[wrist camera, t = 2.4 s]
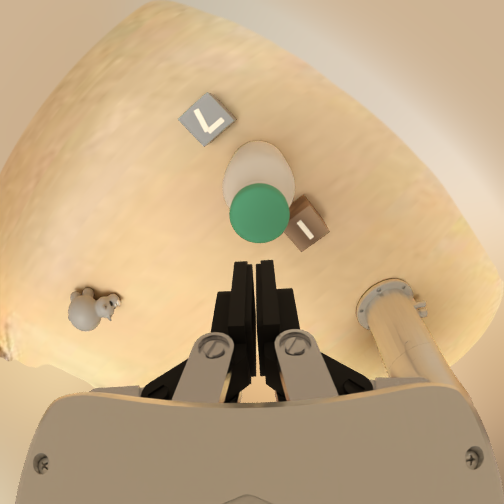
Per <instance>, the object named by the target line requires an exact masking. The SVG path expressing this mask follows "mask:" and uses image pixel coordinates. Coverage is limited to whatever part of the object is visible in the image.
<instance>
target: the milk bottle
mask: <svg viewBox="0 0 504 504" xmlns="http://www.w3.org/2000/svg"><path fill="white" fill-rule="evenodd" d="M294 194H295V181H294V176H293V173H292V171H291V168H290V166H289V165H288V163H287V161H286V159H285V158H284V156H283V155H282V153H281V152H280V151H279V150H278V149H277V148H276V147H275V146H274V145H272V144H270V143H268V142H264V141H252V142H248V143H246V144H244V145H242V146H241V147H240V148H239V149H238V150H237V151H236V152H235V154H234V155H233V157H232V159H231V161H230V163H229V165H228V167H227V169H226V171H225V175H224V178H223V196H224V199H225V202H226V204H227V206H228V207H229V209H230V213H229V215H230V222H231V225H232V227H233V229H234V230H235V232H236V233H237V234H238V235H239V236H240V237H242V238H243V239H245V240H247V241H250V242H254V243H266V242H269V241H272V240H274V239H276V238H277V237H279V236H280V235H281V234H282V233H283V232H284V230H285V229H286V227H287V225H288V222H289V218H290V211H289V207H290V205H291V203H292V201H293V198H294Z"/></svg>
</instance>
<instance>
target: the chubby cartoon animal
mask: <svg viewBox="0 0 504 504" xmlns="http://www.w3.org/2000/svg"><path fill="white" fill-rule="evenodd" d="M93 297H94V292H93V290H92V289H90V288H85V289H84V290H83V293H82V296H81V294H80V293H79V292H73V293H72V294H71V297H70V299H71V303H70V306H69V310H68V314H69V316H68V319H69V320H70V321H71V323H72V324H73V326H74V327H76V328H77V329H79V330H81V331H91V330H93V329H95V328H96V327H97V326H98V325H99V323H100V321H101V317H104V318H108V319H109V320H110V321H111V316H112V315H113V313H114V309H115V308H116V307H117V306H118V305H119V306H120V305H121V302H120V299H119V297H118V296H117V295H116V294H110V295H109V296H107V297H100V298H99V299H98V300H97V301H96V300H95V299H93Z"/></svg>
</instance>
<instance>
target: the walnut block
mask: <svg viewBox="0 0 504 504" xmlns="http://www.w3.org/2000/svg"><path fill="white" fill-rule="evenodd" d="M289 211H290V218H289V222H288V225H287V227H286V229H285V230H284V233H285V234H286V235H287V236H288V237H289V238H290V240H291V241H292V242H293V243H294V244H295V245H296V247H297V248H298V249H299V250H300V251H301V252H302V251H304V250H305V249H307V248H308V247H309V246H311V245H312V244H314V243H315V242H316V241H318V240H319V239H321V238H322V237H323V236H325V235H326V234H328V233H329V232H330V231H329V230H328V228H327V226H326V224H325V222H324V221H323V219H322V218H321V216H320V215H319V214H318V212H317V211H316V210H315V208H314V207H313V206H312V205H311V203H310V202H309V201H308V199H307V198H306V197H305V196H304V195H302V196H301V197H300V198H298V199H297V200H296V201H294V202H293V203H292V204H291V205H290V207H289Z"/></svg>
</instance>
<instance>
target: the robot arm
mask: <svg viewBox="0 0 504 504" xmlns="http://www.w3.org/2000/svg"><path fill="white" fill-rule="evenodd" d="M425 306H426V302H425V301H419V302H416V301H415V300H414V299H413V291H412V289H411V288H410V286H409V285H408V284H407V283H406V282H405V281H403V280H400V279H389V280H385V281H382V282H380V283H378V284H376V285H374V286H373V287H371V288H370V289H369V290H368V291H367V292H366V293H365V294H364V295H363V296H362V298H361V299H360V301H359V303H358V305H357V309H356V315H357V319H358V321H359V323H360V325H361V326H363V327H364V328H366V329H368V330H371V332H372V335H373V337H374V340H375V342H376V344H377V347H378V349H379V352H380V354H381V357H382V360H383V362H384V365H385V367H386V370H387V373H388V375H389V378H375V380H369V379H368V378H366V377H365V376H364V375H362V374H360V373H358V372H356V371H354V370H352V369H351V368H349V367H347V366H345V365H343V364H341V363H339V362H338V361H336V360H334V359H332V358H330V357H329V356H327V355H325V354H323V353H321V352H320V350H319V348H318V345H317V343H316V341H315V339H314V337H313V336H312V335H311V334H310V333H308V332H306V331H304V330H300V327H299V321H298V315H297V310H296V304H295V299H294V294H293V289H292V288H288V289H276V282H275V273H274V264H273V260H263V261H261V264H256V311H255V297H254V283H253V269H252V264H248V265H247V261H243V262H235V263H234V271H233V280H232V289H231V291H224V292H218V293H217V298H216V304H215V310H214V316H213V322H212V328H211V333H208V334H205V335H203V336H201V337H200V338H199V339H197V341H196V342H195V344H194V346H193V348H192V351H191V353H190V356H189V358H188V359H187V360H185V361H184V362H182V363H180V364H179V365H177V366H176V367H174V368H172V369H171V370H169V371H168V372H166V373H164V374H163V375H161V376H160V377H158V378H156V379H155V380H153V381H152V382H150V383H149V384H147V385H146V386H145V387H144V388H140V387H139V385H138V386H126V387H110V388H96V389H93V390H91V391H90V392H79V393H73V394H68V395H65V396H62V397H59V398H57V399H56V400H54V401H53V402H52V403H51V404H50V406H49V407H48V408H47V410H46V412H45V413H44V415H43V417H42V419H41V421H40V423H39V425H38V427H37V429H36V432H35V434H34V437H33V439H32V442H31V444H30V447H29V450H28V454H27V457H26V460H25V463H24V467H23V470H22V474H21V478H20V482H19V486H18V491H17V496H16V502H15V504H504V494H503V489H502V483H501V478H500V474H499V470H498V466H497V462H496V459H495V456H494V452H493V449H492V446H491V443H490V440H489V437H488V435H487V432H486V430H485V427H484V425H483V423H482V420H481V418H480V416H479V414H478V412H477V410H476V408H475V407H474V405H473V402H472V400H471V397H470V396H469V394H468V392H467V391H466V390H465V388H464V387H463V386H462V384H461V383H460V382H459V380H458V379H457V378H456V377H455V375H454V373H453V372H452V370H451V369H450V367H449V365H448V364H447V362H446V360H445V359H444V357H443V355H442V353H441V352H440V350H439V348H438V346H437V344H436V343H435V341H434V339H433V337H432V336H431V334H430V332H429V331H428V329H427V327H426V326H425V324H424V322H423V321H422V319H421V318H423V317H426V316H427V309H426V308H422V309H418V310H416V309H417V308H421V307H425ZM256 312H257V337H258V351H259V364H260V376H266V384H267V385H268V386H270V387H271V388H272V389H274V390H275V397H276V401H277V402H268V403H267V402H266V403H240V402H241V397H242V390H243V389H244V388H245V387H247V386H248V385H249V384H251V377H253V376H256Z"/></svg>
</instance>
